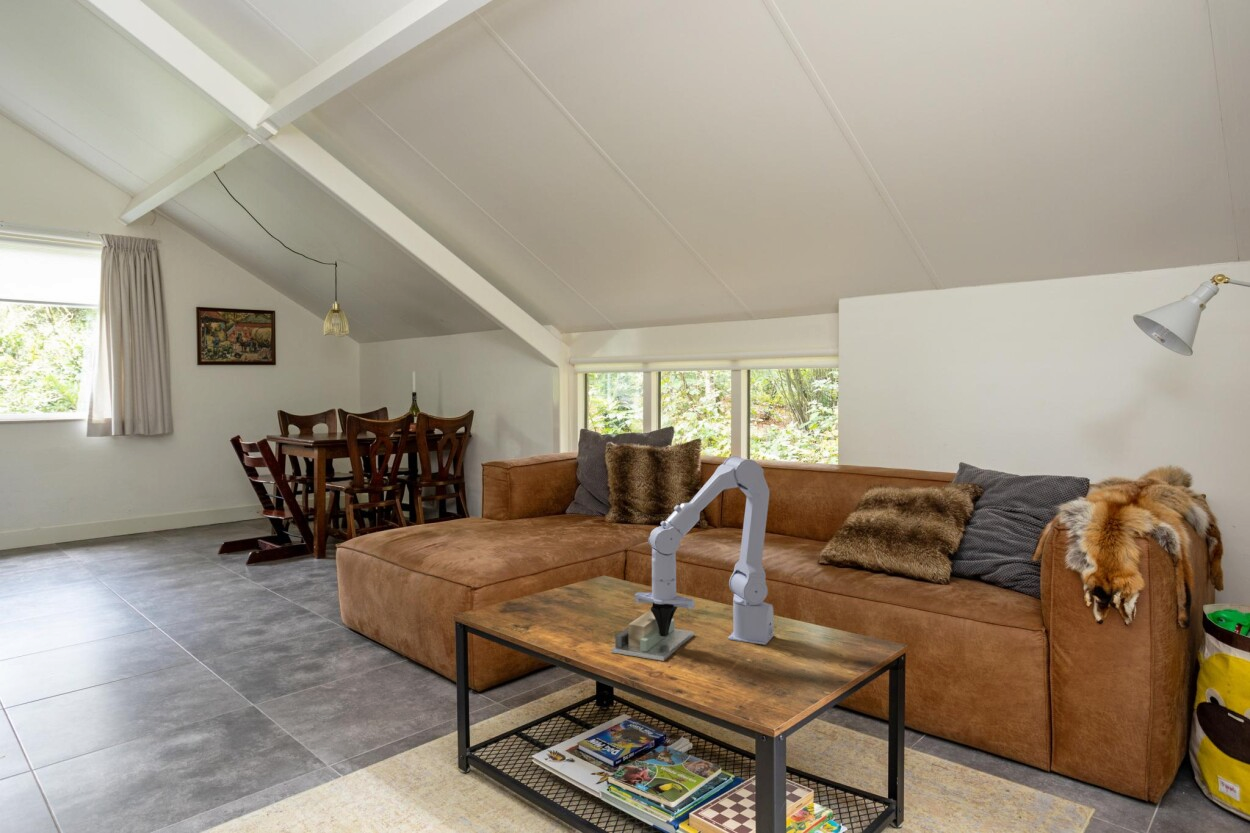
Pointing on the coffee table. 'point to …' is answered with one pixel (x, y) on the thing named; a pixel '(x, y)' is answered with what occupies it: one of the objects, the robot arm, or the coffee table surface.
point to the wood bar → (641, 628)
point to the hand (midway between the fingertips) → (664, 635)
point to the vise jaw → (653, 638)
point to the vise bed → (658, 650)
